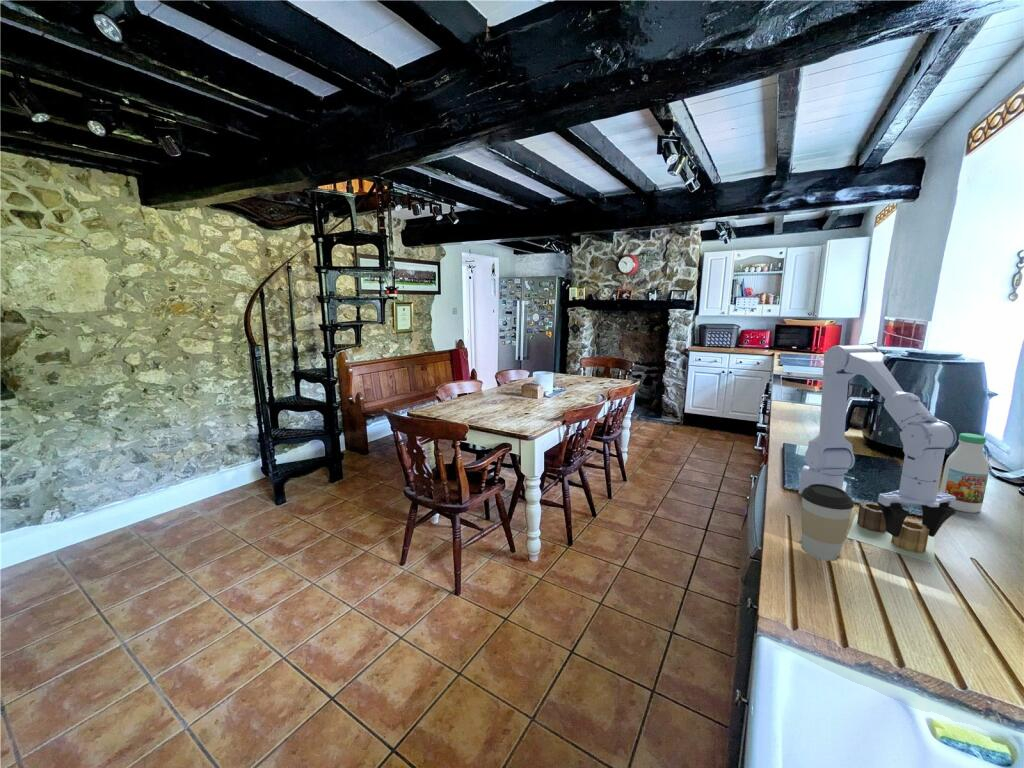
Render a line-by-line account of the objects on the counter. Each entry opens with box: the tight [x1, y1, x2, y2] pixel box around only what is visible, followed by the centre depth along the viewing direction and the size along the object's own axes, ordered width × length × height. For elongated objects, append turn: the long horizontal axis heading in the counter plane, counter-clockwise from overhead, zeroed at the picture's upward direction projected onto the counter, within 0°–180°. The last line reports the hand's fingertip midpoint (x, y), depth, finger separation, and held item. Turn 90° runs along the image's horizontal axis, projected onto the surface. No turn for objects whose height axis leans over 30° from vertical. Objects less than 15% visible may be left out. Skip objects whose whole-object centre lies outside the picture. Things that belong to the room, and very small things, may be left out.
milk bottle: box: [939, 432, 990, 514], centre depth 106 cm, size 8×8×20 cm
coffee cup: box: [800, 484, 855, 562], centre depth 88 cm, size 9×9×15 cm
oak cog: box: [891, 519, 929, 553], centre depth 88 cm, size 5×5×5 cm
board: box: [846, 513, 936, 565], centre depth 92 cm, size 14×15×4 cm
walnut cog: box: [857, 501, 887, 533], centre depth 96 cm, size 5×5×5 cm
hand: (910, 534), depth 88 cm, fingers open, 7 cm apart
